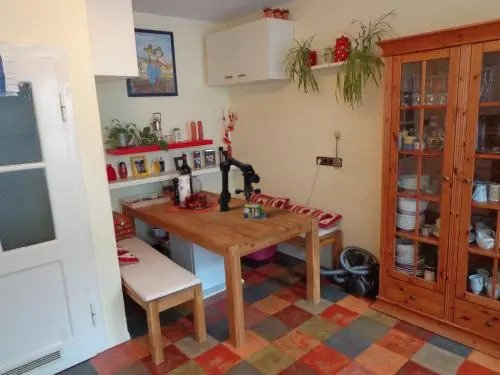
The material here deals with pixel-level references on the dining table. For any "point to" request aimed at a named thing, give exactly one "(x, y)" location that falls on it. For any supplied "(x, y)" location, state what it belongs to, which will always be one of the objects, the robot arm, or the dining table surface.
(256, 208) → the chalk box
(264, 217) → the mat
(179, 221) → the dining table surface
